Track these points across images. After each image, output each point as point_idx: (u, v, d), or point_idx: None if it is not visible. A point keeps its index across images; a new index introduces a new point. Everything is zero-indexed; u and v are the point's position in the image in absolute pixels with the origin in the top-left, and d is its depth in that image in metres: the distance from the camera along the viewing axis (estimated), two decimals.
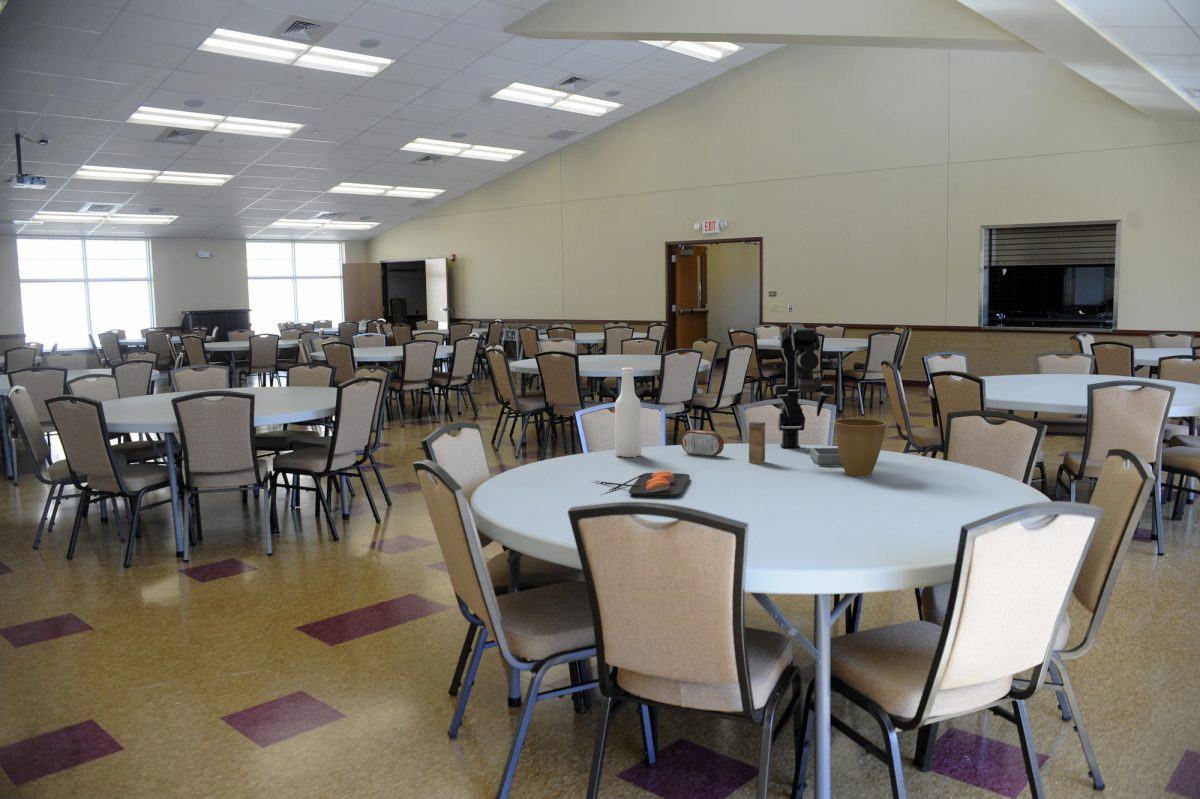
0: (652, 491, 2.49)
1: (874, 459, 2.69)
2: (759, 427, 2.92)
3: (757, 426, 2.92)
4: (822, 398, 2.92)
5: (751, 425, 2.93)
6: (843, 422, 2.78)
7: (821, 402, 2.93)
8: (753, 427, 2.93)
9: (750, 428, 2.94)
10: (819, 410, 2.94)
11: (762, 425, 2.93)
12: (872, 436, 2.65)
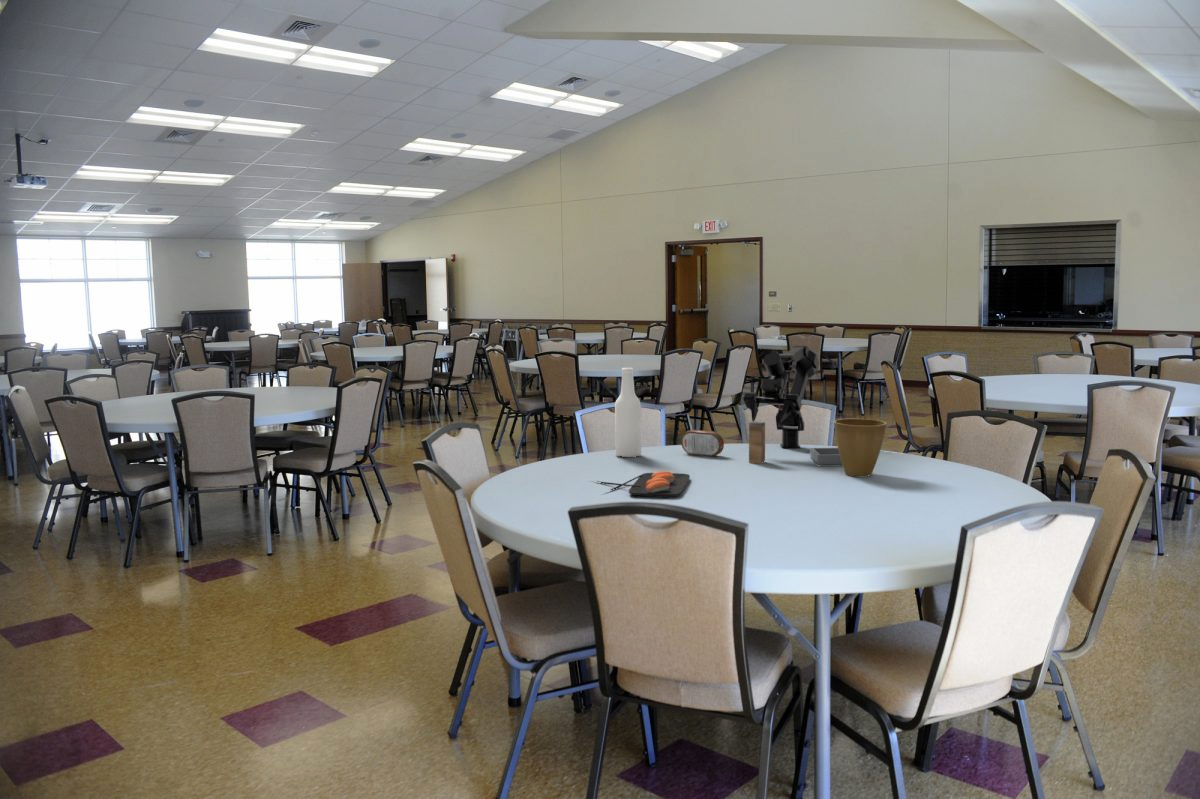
0: (652, 491, 2.49)
1: (874, 459, 2.69)
2: (759, 427, 2.92)
3: (757, 426, 2.92)
4: (785, 403, 3.00)
5: (751, 425, 2.93)
6: (843, 422, 2.78)
7: (784, 408, 3.00)
8: (753, 427, 2.93)
9: (750, 428, 2.94)
10: (781, 415, 2.99)
11: (762, 425, 2.93)
12: (872, 436, 2.65)
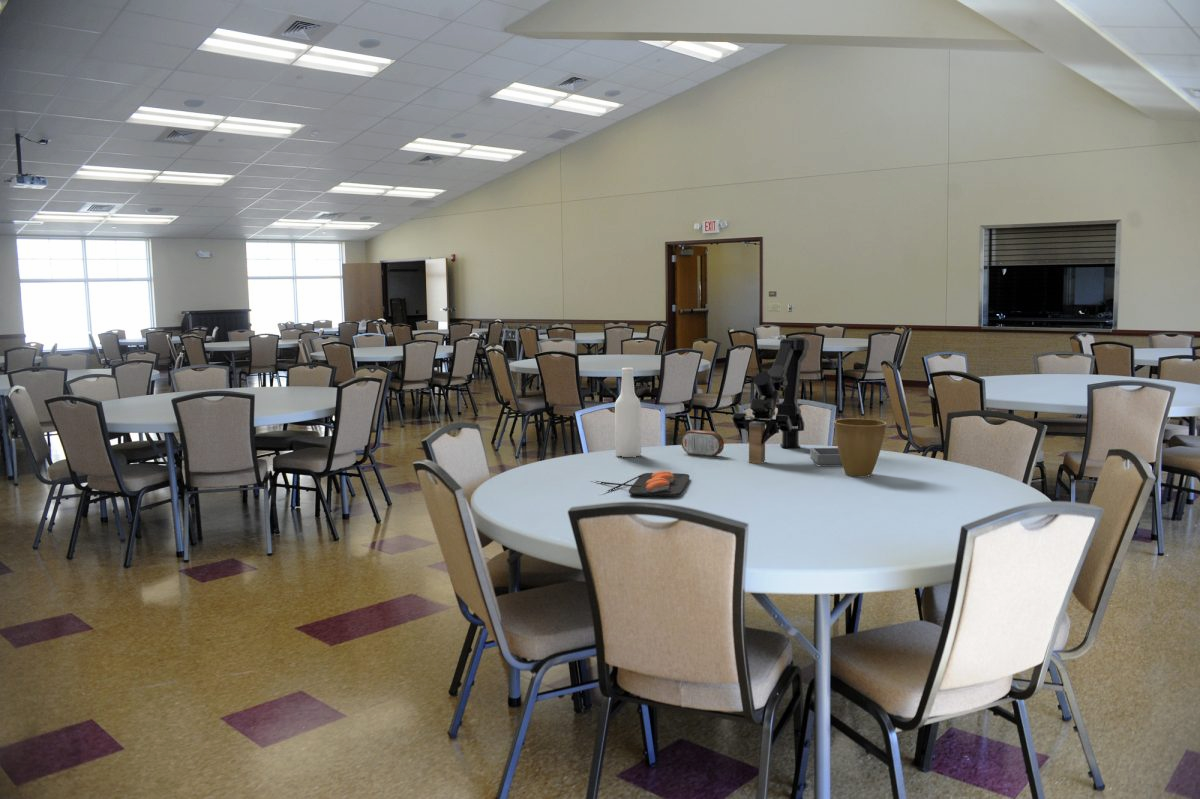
0: (652, 491, 2.49)
1: (874, 459, 2.69)
2: (759, 427, 2.92)
3: (757, 426, 2.92)
4: (767, 424, 2.94)
5: (751, 425, 2.93)
6: (843, 422, 2.78)
7: (766, 429, 2.94)
8: (753, 427, 2.93)
9: (750, 428, 2.94)
10: (763, 436, 2.93)
11: (762, 425, 2.93)
12: (872, 436, 2.65)
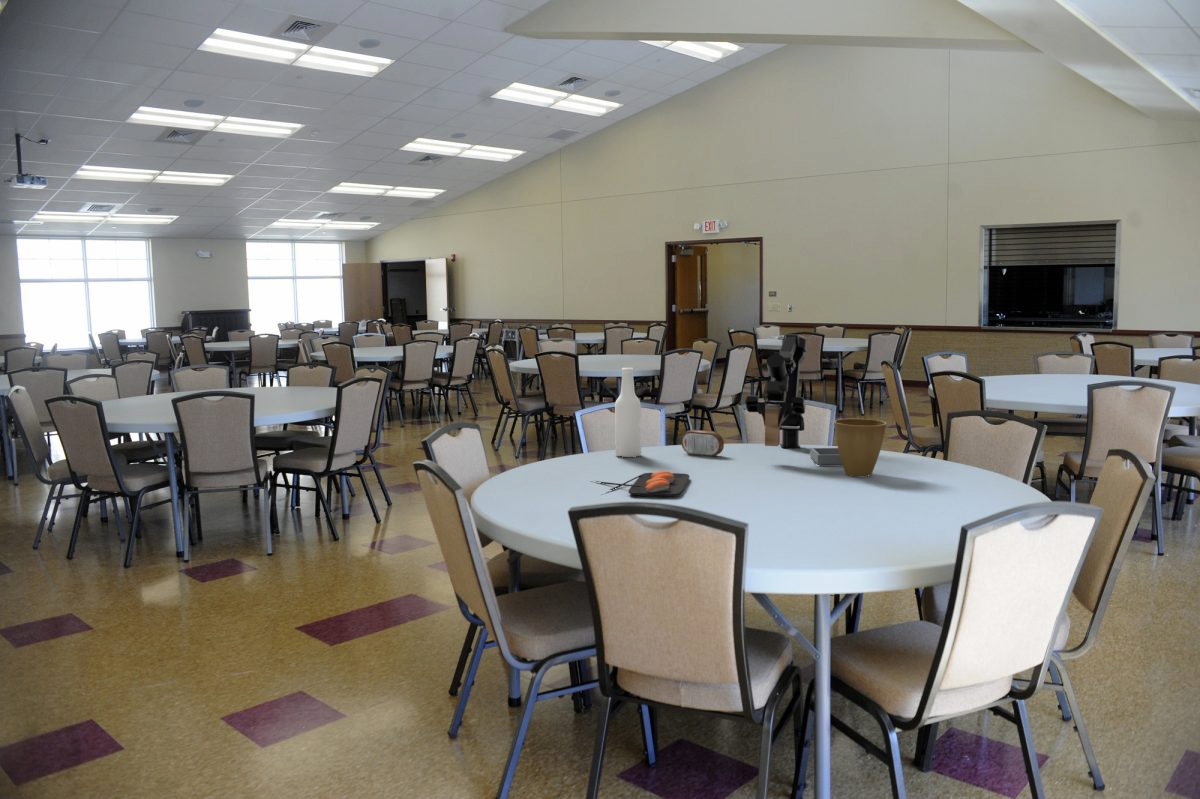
0: (652, 491, 2.49)
1: (874, 459, 2.69)
2: (776, 409, 2.90)
3: (774, 408, 2.90)
4: (783, 406, 2.92)
5: (767, 407, 2.91)
6: (843, 422, 2.78)
7: (782, 411, 2.92)
8: (769, 409, 2.91)
9: (766, 410, 2.91)
10: (780, 418, 2.91)
11: (778, 407, 2.91)
12: (872, 436, 2.65)
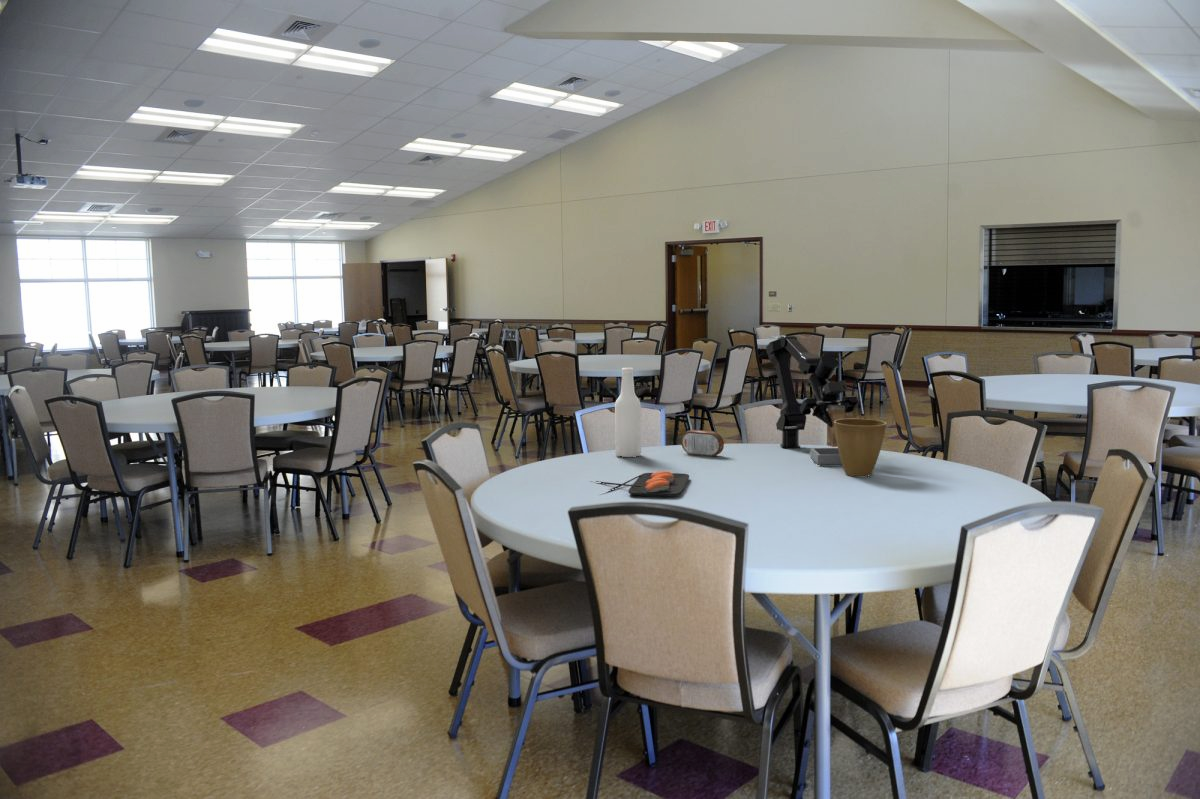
0: (652, 491, 2.49)
1: (874, 459, 2.69)
2: (843, 409, 2.91)
3: (841, 409, 2.91)
4: None
5: (835, 408, 2.90)
6: (843, 422, 2.78)
7: None
8: (837, 410, 2.90)
9: (834, 411, 2.90)
10: None
11: None
12: (872, 436, 2.65)
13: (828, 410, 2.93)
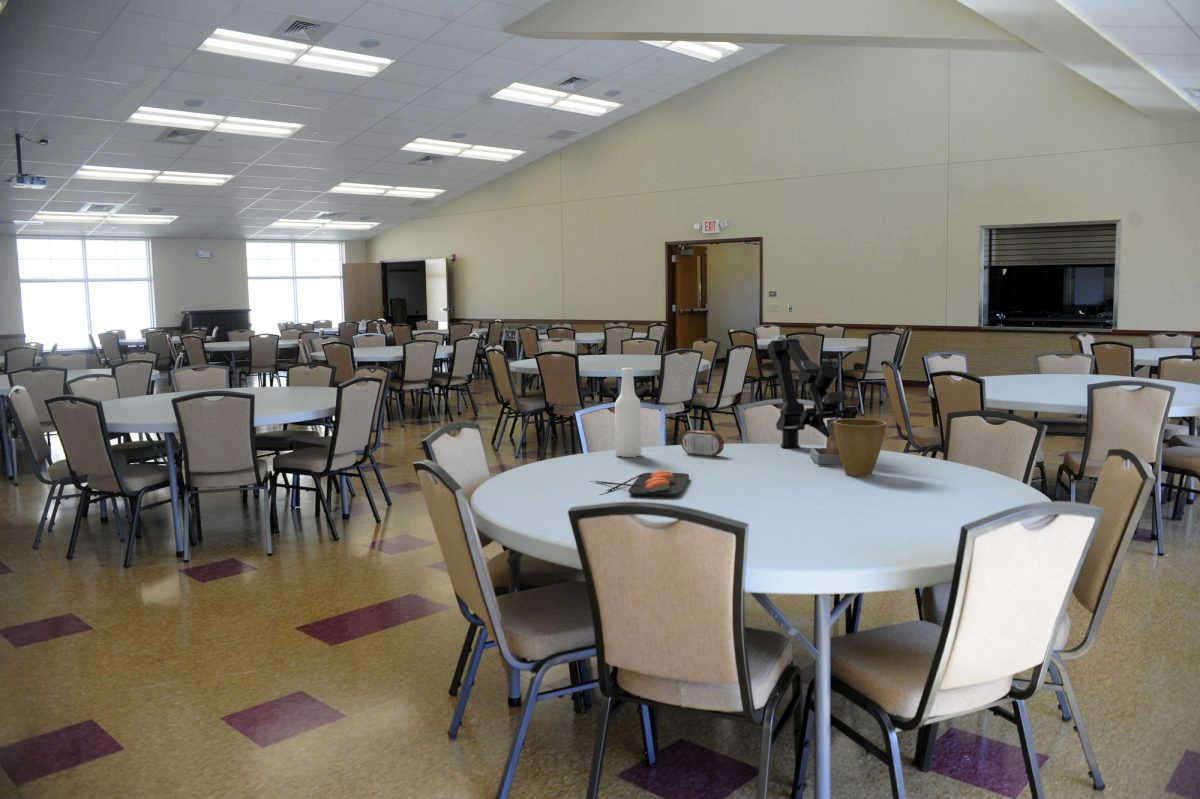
0: (652, 491, 2.49)
1: (874, 459, 2.69)
2: None
3: None
4: (846, 416, 2.95)
5: None
6: (843, 422, 2.78)
7: None
8: None
9: (834, 426, 2.91)
10: None
11: None
12: (872, 436, 2.65)
13: (827, 425, 2.94)
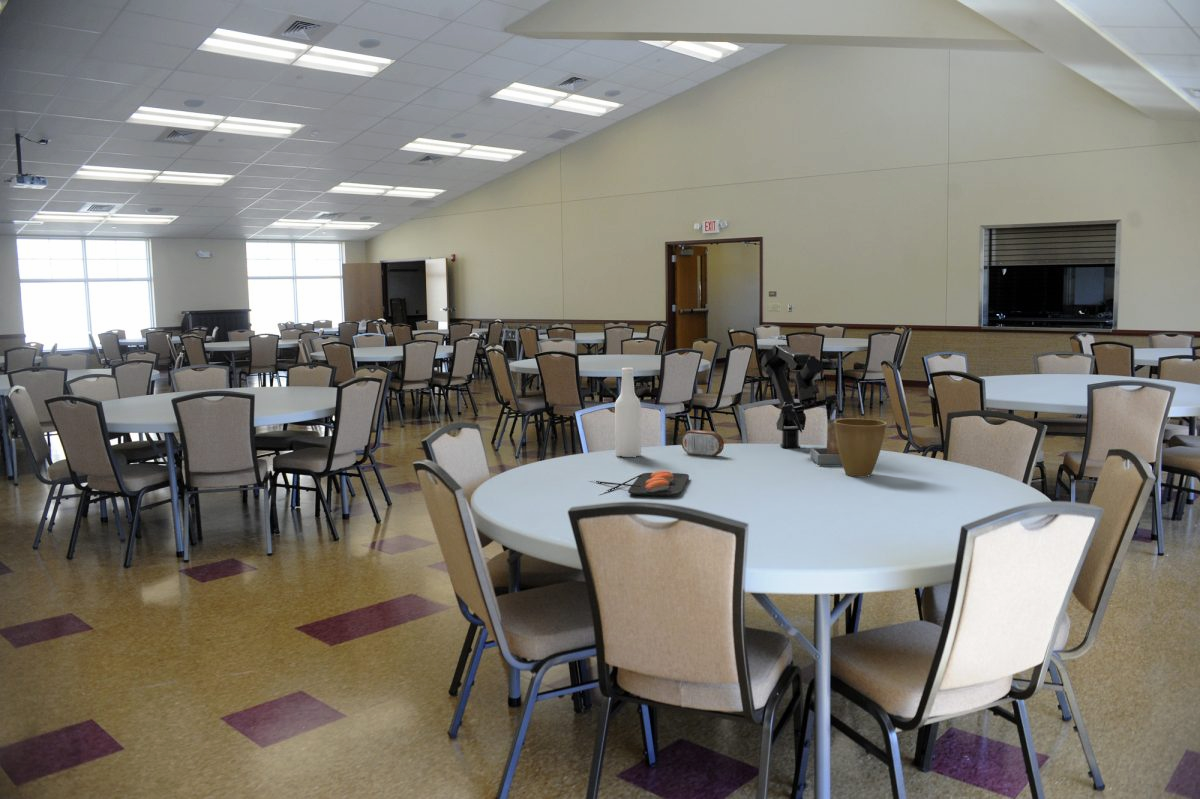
0: (651, 491, 2.49)
1: (874, 459, 2.69)
2: None
3: None
4: (827, 406, 3.02)
5: None
6: (843, 422, 2.78)
7: (828, 411, 3.02)
8: None
9: (834, 426, 2.91)
10: (828, 419, 3.01)
11: None
12: (872, 436, 2.65)
13: (828, 425, 2.94)
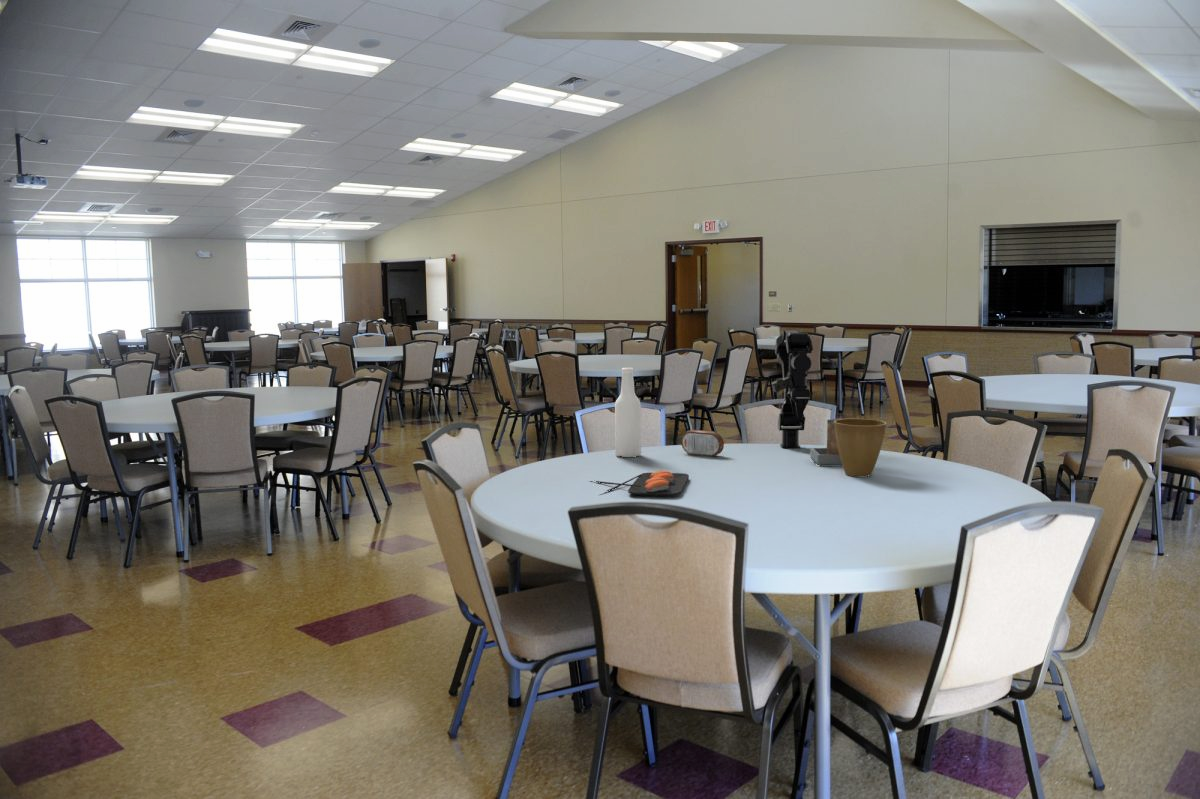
0: (651, 491, 2.50)
1: (874, 459, 2.69)
2: None
3: None
4: (793, 400, 3.02)
5: None
6: (843, 422, 2.78)
7: (795, 404, 3.03)
8: None
9: (834, 426, 2.91)
10: (796, 412, 3.03)
11: None
12: (872, 436, 2.65)
13: (828, 425, 2.94)
